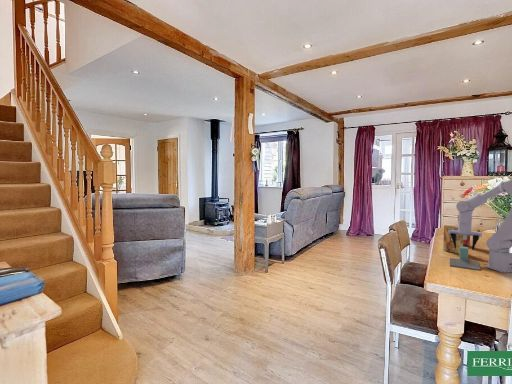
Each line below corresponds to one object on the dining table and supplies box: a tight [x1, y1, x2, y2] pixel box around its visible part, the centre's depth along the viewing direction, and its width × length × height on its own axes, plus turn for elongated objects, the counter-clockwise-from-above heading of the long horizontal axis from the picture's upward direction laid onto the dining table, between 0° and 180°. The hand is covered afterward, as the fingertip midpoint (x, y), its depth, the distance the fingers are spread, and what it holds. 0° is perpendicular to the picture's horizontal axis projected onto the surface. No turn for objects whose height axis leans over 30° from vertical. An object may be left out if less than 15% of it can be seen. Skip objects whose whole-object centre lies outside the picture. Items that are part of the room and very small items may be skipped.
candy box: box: [442, 224, 464, 255], centre depth 167 cm, size 9×4×15 cm, turn 33°
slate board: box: [449, 257, 481, 271], centre depth 144 cm, size 14×12×1 cm
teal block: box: [459, 246, 469, 260], centre depth 152 cm, size 4×4×6 cm
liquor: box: [457, 214, 472, 248], centre depth 179 cm, size 7×7×28 cm
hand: (463, 248), depth 152 cm, fingers open, 7 cm apart
